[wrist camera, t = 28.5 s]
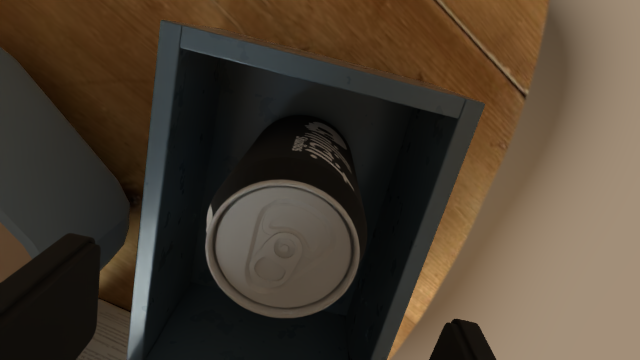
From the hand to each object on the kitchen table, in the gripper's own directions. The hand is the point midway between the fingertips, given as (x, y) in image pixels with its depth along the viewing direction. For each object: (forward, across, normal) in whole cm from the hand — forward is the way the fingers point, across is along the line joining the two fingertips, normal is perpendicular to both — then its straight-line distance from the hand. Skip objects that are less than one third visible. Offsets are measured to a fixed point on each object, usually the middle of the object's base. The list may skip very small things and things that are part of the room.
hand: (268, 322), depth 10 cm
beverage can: (+16, 0, +1) cm, 16 cm away
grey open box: (+17, 0, +3) cm, 17 cm away
